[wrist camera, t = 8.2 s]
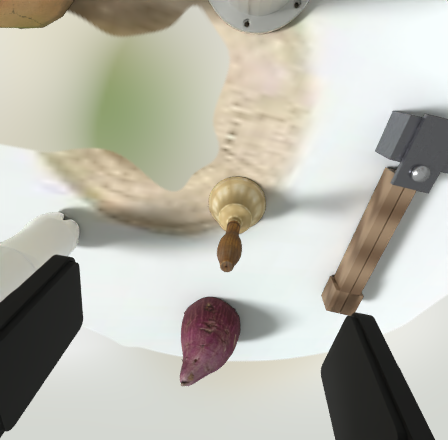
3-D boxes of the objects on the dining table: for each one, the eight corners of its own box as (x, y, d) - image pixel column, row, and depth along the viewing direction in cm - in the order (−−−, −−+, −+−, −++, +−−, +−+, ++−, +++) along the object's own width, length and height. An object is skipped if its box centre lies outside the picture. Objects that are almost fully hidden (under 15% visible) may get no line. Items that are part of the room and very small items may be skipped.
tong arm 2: (380, 166, 38) (392, 174, 35) (395, 169, 38) (408, 177, 35) (321, 295, 48) (326, 310, 44) (333, 297, 48) (338, 313, 44)
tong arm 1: (397, 170, 38) (410, 178, 35) (412, 173, 38) (426, 182, 35) (334, 298, 48) (340, 313, 44) (346, 300, 48) (352, 316, 44)
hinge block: (394, 107, 35) (418, 111, 30) (450, 121, 35) (483, 127, 30) (366, 170, 39) (383, 183, 34) (417, 182, 39) (442, 197, 34)
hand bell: (234, 239, 45) (226, 312, 31) (197, 200, 43) (169, 260, 28) (277, 207, 42) (290, 272, 28) (240, 164, 40) (233, 210, 26)
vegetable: (184, 315, 57) (137, 383, 44) (202, 281, 51) (154, 348, 39) (230, 345, 56) (195, 424, 43) (253, 314, 50) (221, 394, 38)
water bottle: (60, 199, 45) (-135, 318, 22) (94, 233, 47) (-53, 375, 24) (32, 222, 47) (-171, 352, 24) (65, 254, 49) (-93, 401, 26)
